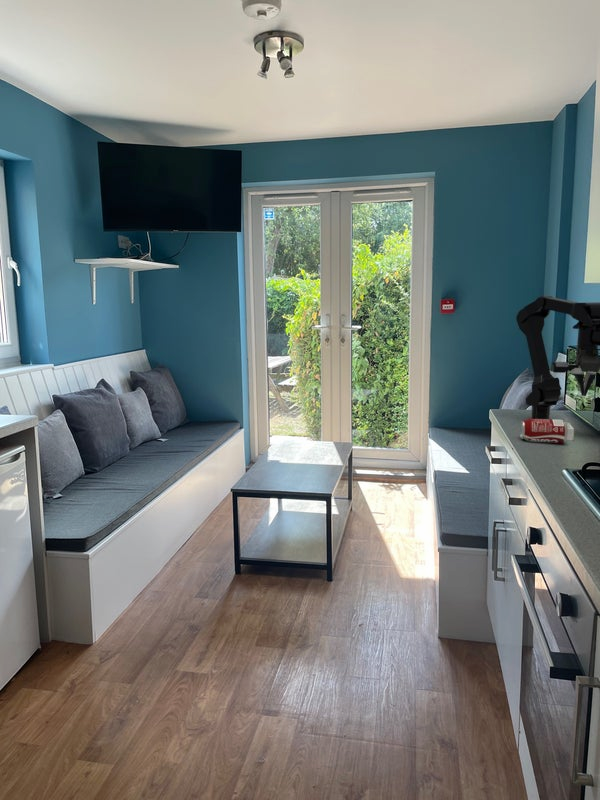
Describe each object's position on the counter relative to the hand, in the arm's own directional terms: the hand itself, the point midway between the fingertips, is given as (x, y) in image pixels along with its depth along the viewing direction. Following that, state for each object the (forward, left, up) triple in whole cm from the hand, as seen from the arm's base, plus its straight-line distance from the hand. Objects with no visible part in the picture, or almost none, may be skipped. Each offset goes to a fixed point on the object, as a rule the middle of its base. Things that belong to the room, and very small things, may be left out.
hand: (583, 395), depth 176 cm
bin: (+4, -10, -12) cm, 16 cm away
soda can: (+12, -6, -9) cm, 16 cm away
